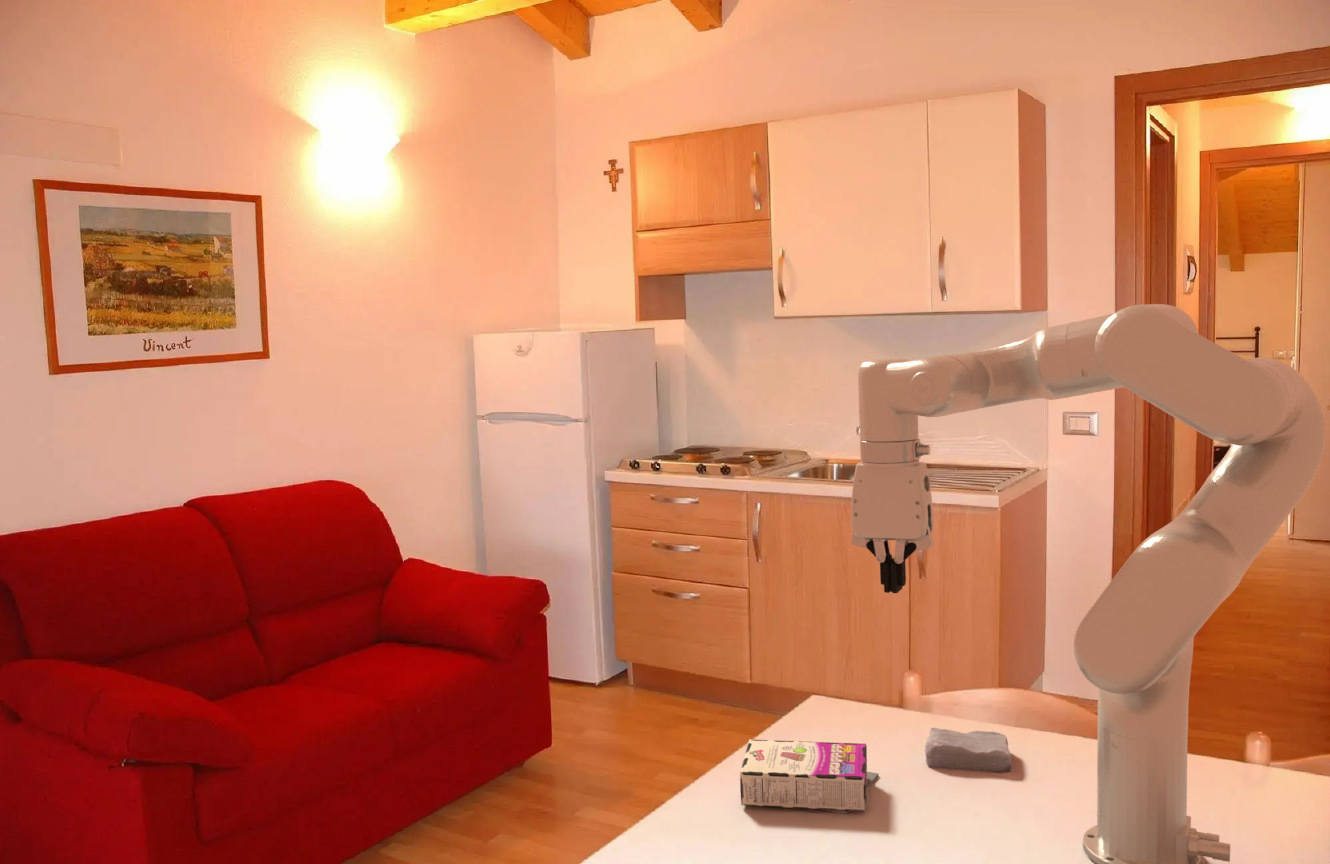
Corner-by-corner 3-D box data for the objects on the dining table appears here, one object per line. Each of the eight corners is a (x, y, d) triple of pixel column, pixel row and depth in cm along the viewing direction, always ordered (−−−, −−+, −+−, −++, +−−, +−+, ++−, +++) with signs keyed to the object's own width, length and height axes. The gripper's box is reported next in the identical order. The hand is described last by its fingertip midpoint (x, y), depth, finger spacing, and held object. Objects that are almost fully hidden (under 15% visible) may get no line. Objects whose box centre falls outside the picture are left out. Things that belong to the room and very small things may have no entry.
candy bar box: (867, 777, 149) (749, 770, 152) (867, 742, 148) (748, 736, 152) (866, 815, 138) (739, 806, 141) (866, 777, 137) (738, 770, 141)
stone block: (925, 756, 161) (924, 769, 152) (926, 723, 162) (925, 735, 152) (1008, 764, 158) (1012, 779, 149) (1009, 731, 159) (1013, 743, 149)
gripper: (953, 450, 141) (956, 588, 142) (843, 449, 148) (848, 581, 149) (939, 457, 134) (943, 601, 136) (825, 456, 141) (830, 593, 143)
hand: (893, 590), depth 143 cm, fingers closed
